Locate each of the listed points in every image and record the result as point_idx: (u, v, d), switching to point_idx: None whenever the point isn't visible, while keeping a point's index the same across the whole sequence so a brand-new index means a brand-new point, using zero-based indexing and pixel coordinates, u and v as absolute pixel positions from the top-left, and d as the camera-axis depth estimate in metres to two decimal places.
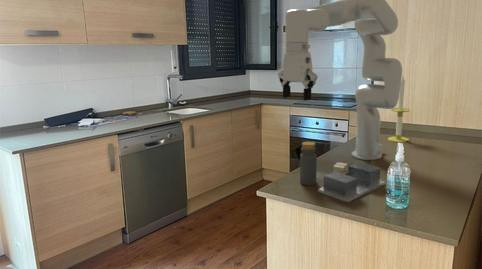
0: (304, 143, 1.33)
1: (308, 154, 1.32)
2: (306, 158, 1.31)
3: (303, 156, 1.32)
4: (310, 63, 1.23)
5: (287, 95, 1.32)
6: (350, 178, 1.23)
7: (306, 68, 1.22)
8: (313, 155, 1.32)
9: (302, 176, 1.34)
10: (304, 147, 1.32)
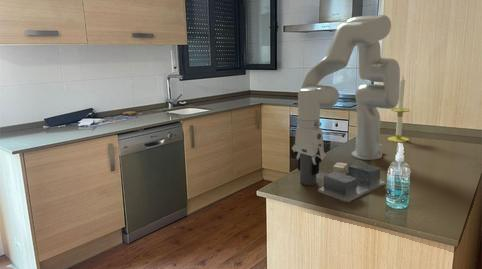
0: None
1: None
2: (306, 158, 1.31)
3: (303, 156, 1.32)
4: (321, 139, 1.29)
5: None
6: (350, 178, 1.23)
7: (318, 145, 1.28)
8: None
9: (302, 176, 1.34)
10: None
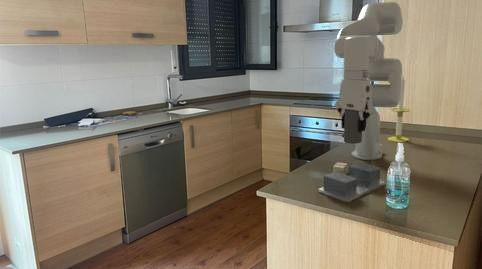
0: None
1: None
2: (353, 113, 1.21)
3: (349, 111, 1.22)
4: (370, 91, 1.19)
5: None
6: (350, 178, 1.23)
7: (366, 98, 1.18)
8: None
9: (347, 134, 1.24)
10: None
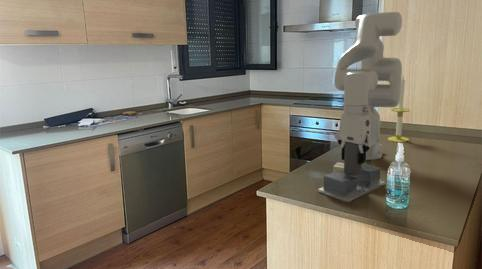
0: None
1: None
2: (353, 146, 1.23)
3: (349, 144, 1.24)
4: (369, 125, 1.21)
5: None
6: (350, 178, 1.23)
7: (366, 132, 1.21)
8: None
9: (347, 166, 1.26)
10: None
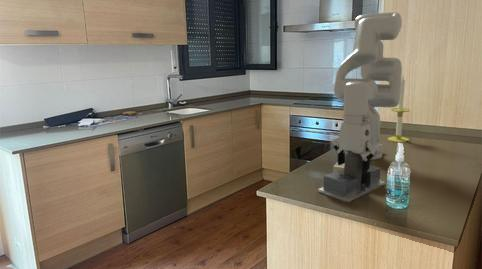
0: None
1: (355, 156, 1.25)
2: (353, 160, 1.25)
3: (349, 157, 1.26)
4: (369, 135, 1.22)
5: (342, 162, 1.31)
6: (350, 178, 1.23)
7: (365, 141, 1.21)
8: (359, 156, 1.25)
9: None
10: None
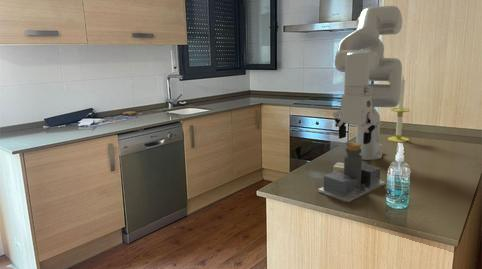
0: (349, 144, 1.26)
1: (354, 156, 1.25)
2: (352, 160, 1.25)
3: (348, 158, 1.26)
4: (371, 106, 1.20)
5: (343, 136, 1.29)
6: (350, 178, 1.23)
7: (367, 112, 1.19)
8: (359, 156, 1.25)
9: None
10: (349, 148, 1.25)
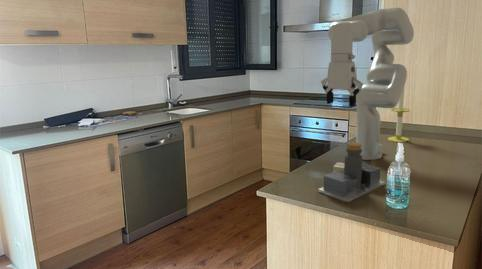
0: (350, 144, 1.26)
1: (354, 156, 1.25)
2: (352, 160, 1.25)
3: (349, 157, 1.26)
4: (355, 72, 1.32)
5: (330, 101, 1.41)
6: (350, 178, 1.23)
7: (352, 77, 1.31)
8: (359, 156, 1.25)
9: None
10: (350, 148, 1.25)
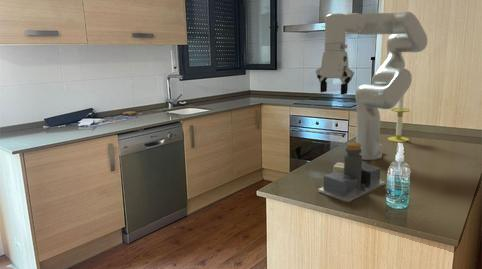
0: (349, 144, 1.26)
1: (354, 156, 1.25)
2: (352, 159, 1.25)
3: (348, 157, 1.26)
4: (347, 61, 1.39)
5: (324, 90, 1.48)
6: (350, 178, 1.23)
7: (343, 66, 1.38)
8: (359, 156, 1.26)
9: None
10: (350, 148, 1.25)
